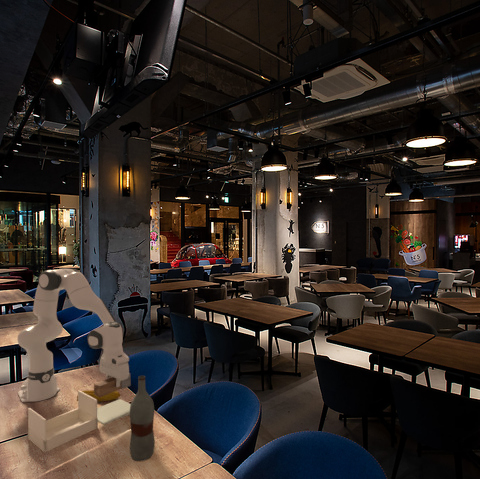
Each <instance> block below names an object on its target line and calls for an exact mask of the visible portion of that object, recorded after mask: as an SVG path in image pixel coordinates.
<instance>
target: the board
mask: <svg viewBox="0 0 480 479" xmlns="http://www.w3.org/2000/svg"><path fill="white" fill-rule="evenodd" d="M130 406H131V403H129V402H127V401H125V400H123V399H121V398H118V399H115V400H113V401H112V402H109V403H107V404H104V405H102V406H99V407H97V418H98V423H100V424H101V425H103V426H105V425H107V424H110V423H112V422H114V421H116V420H118V419H120V418H126V417H127V416H130V415H129V414H130Z"/></svg>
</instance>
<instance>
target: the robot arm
mask: <svg viewBox="0 0 480 479" xmlns="http://www.w3.org/2000/svg"><path fill="white" fill-rule="evenodd" d="M37 280H38V285H37V287H36V291H35V296H34V301H33V308H32V313H33V315H34V316H36V317H37V324H33V325H31V326H27V327H25V328H24V329H22V330H21V331H20V332H18V334H17V344H18V345H19V346H20V347H21V348H23V349H24V350H25V351H26V353H27V355H28V364H29V365H28V368H29V369H28V372H27V378H26V379H25V380H23V383H22V385H21V386H20V390H19V391H17V394H18V397H19V399H20V401H21V402H22V403H27V402H40V401H46V400H47V399H50V398H53V397H54V396H56V395H57V392H59V391H60V390H61V388H60V387H58V380H57V375H55V368H54V354H53V352H52V351H51V350H49V349H48V347H47V343H48V342H51V341H54V340H55V339H56V338H58V337H59V336H61V334H62V333H63V325H62V324H61V322H60V321H59V320H58V316H57V309H58V303H59V302H58V301H59V296H60V291H62V290H65V291H66V294H67V296H68V298H69V301H70V303H71V304H72V306H73V307H75V308H77V309H78V310H83V311H89V312H92V313H95V314H96V315H97V316H98V317H99V319H100V320H101V322H102V324H103V325H102V326H100V327H98V328H94V329H93V330H91V331H89V332H88V335H87V339H86V340H87V344H88V346H89V347H90V348H91V349H93V350H94V349H95V350H97V349H98V350H99V349H103V353H102V354H101V356H100V360H99V372H100V373H101V374H105V377H106V379H109V378H112V377H114V378H116V380H117V381H116V383H115V386H116V387H119V386H120V382H121V381H122V380H125V379H127V378H128V377H129V373H130V365H129V361H130V357H129V356H128V355H127V354H126V353H125V352H124V351H123V350H124V349H123V348H124V347H123V345H122V344H123V337H124V329H123V328H122V326H121V324H120V323H119V322H118V321H117V320H116V319H115V317H114V316H113V314H112V312H111V311H110V309H109V307H108V306H107V305H106V303H105V302H104V300H103V299H102V298H100V297H99V296H97V295H96V294H95V292H94V291H93V289H92V287H91V285H90V283H89V281H88V280H87V278H86V277H85V275H84V274H83V273H82V272H80V270H78V269H76V268H59V269H58V268H57V269H47V270H44V271H42V272H41V273H40V274H39V276H38V279H37Z"/></svg>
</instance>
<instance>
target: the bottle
mask: <svg viewBox="0 0 480 479" xmlns="http://www.w3.org/2000/svg"><path fill="white" fill-rule="evenodd" d="M137 379H138V380H137V381H138V382H137V388H138V389H137V392H136V394H135V396H134V397H133V399H132V400H131V403H130V404H131V406H130V414H129V415H128V416H129V421H130V434H131V435H130V442H129V451H130V452H129V453H130V456H131V459H132V460H134V461H135V462H143V461H147V460H149V459H150V458H152V456H153V455H154V451H155V444H156V442H155V433H154V418H155V405H154V400H153V399H152V397H151V396H150V395H149V394H150V393H149V392H148V391H147V389H146V376H145V375H139V376H138V377H137Z"/></svg>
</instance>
